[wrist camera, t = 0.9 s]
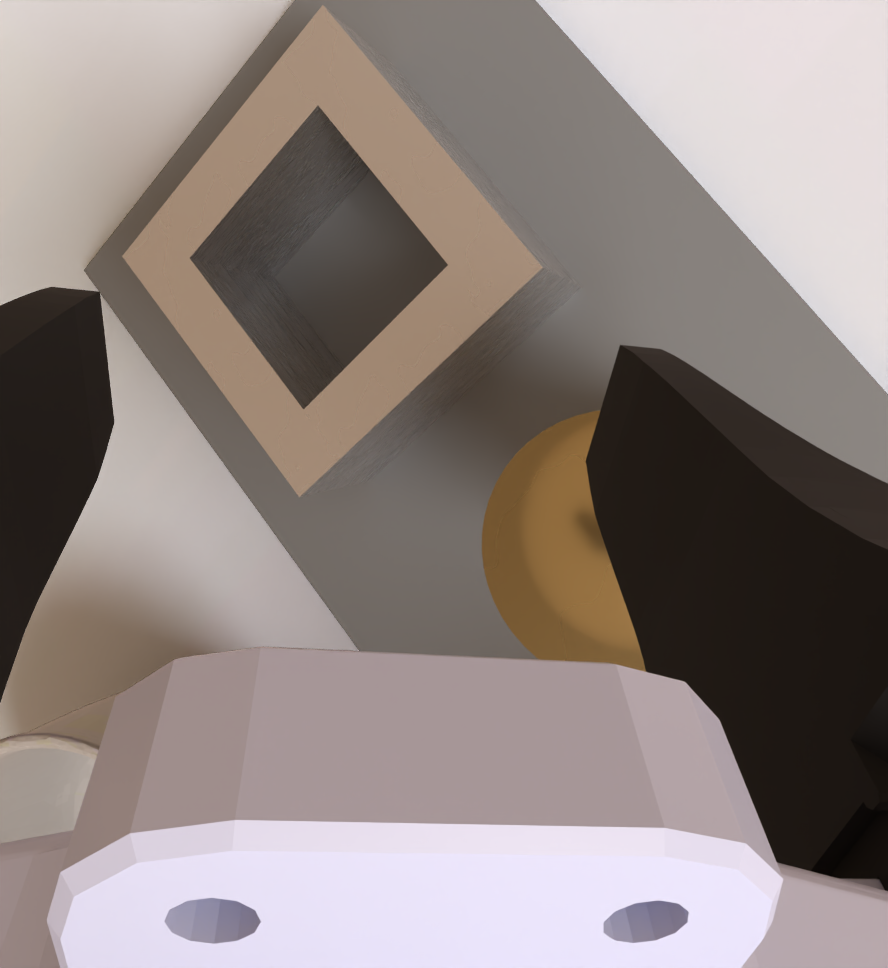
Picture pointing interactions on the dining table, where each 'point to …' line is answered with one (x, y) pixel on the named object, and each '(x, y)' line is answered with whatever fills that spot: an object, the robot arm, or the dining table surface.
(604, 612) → the brass door knob
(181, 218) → the block
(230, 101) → the mat
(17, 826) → the teacup
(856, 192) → the dining table surface
